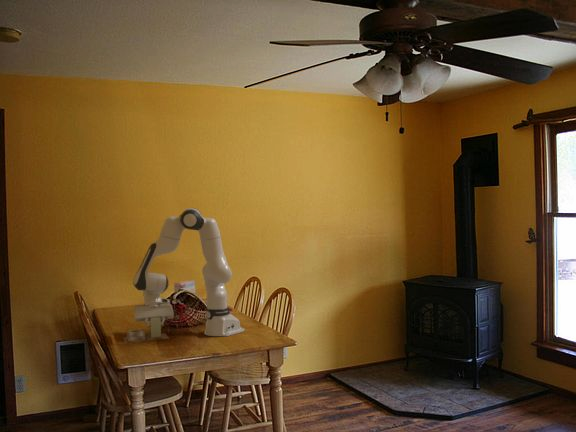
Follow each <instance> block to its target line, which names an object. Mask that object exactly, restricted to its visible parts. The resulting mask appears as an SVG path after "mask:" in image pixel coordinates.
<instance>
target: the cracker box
mask: <svg viewBox="0 0 576 432" xmlns="http://www.w3.org/2000/svg"><path fill="white" fill-rule="evenodd" d="M173 285H174V287H173V290H174V292H173V293H175V292H177V291H178V290H179V289H184V290H188V291H190V292H192V293H194V294H195V295H196V281H195V280H193V279H187V280H183V281H178V282H174V283H173Z"/></svg>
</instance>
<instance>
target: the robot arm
mask: <svg viewBox="0 0 576 432" xmlns="http://www.w3.org/2000/svg"><path fill="white" fill-rule="evenodd" d="M185 229H187V230H190V231H191V230H192V231H198V234H199V239H200V245H201V246H200V247H201V250H202V255H203V257H204V259H205V262H206V263H205V264H203V266H202V270H201V271H202V275H203V279H204V280H203V281H204V286H205V292H206V308H205V311H206V312H205V314H206V315H205V316H206V324H205V329H204V333H203V334H204V335H206V336H208V337H229V336H233V335H236V334H240V333H243V332H245V328H243V327H241V323H240V320H239V319H238V318H237V317H236V316H234V315H233V314H231V312H234V309H235V308H234V307H228V292H227V290H226V286H225V284H227V283H228V282H230V280H232V277H233V273H232V272H233V271H232V269H231V268H230V265H229V263H228V260H227V257H226V254H225V252H224V248H223V242H222V237H221V232H220V228H219V224H218V223H217V220H216V219H215V218H212V217H204V216H203V215H202V212H201V211H200V210H199V209H197V208H196V207H195V208H194V207H189V208H186V209H184V211H183V212H182V213H181V214H180V215H179V216H174V215H173V216H172V215H171V216H168V217H167V218H166V219H165V220H164V223H163V225H162V227H161V230H160V233H159V236H158V238H157V239H156V241H155V242H153V243H151V244H150V246H149V247H148V249H147V251H146V253H145V256H144V257H143V259H142V261H141V264H140V266H139V268H138V270H137V271H136V273H135V275H134V277H133V279H132V280H133V281H132V285H133V286H134V287H135V289H137V291H142V296H143V304H140V305H135V306H133V308H132V309H133V310H132V311H133V313H134V321H135V323H137V322H139V323H140V322H144V324H146V325H147V328H151V323H150V322H149V321H150V318H157V317H160V318H161V327H164V322H165V320H170V319H171V320H172V319H173V318H174V316H175V311H174V308H173V305H172V304H171V303H170V302H171V301H170V299H167V298H163V297H161V295H162V294H164V293H165V292H166V291H167V289H168V287H169V279H168V277H167V275H166V274H163V273H154V272H149V270H150V269H151V266H152V263H153V262H154V260H155V259H156V258H157V257H159V256H162V255H166V254H170V253H173V252H175V251H176V250H177V249H178V247H179V244H180V242H181V239H182V234H183V232H184V230H185Z"/></svg>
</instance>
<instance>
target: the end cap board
mask: <svg viewBox="0 0 576 432" xmlns="http://www.w3.org/2000/svg"><path fill="white" fill-rule="evenodd" d="M122 339H123V342H124V343H125V344H131V343H140V342H141V343H142V342H149V341H158V340H160V341H161V340H167V339H170V337H169V336H168V335H167V334H166V333H161V337H155V338H151V334H146V330H145V329H143V328H142V329H132V330H127V331H126V337H122Z"/></svg>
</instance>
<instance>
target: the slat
mask: <svg viewBox="0 0 576 432" xmlns="http://www.w3.org/2000/svg"><path fill="white" fill-rule="evenodd" d="M161 322H162V320H161V318H160V317H157V318H150V322H149V323H151V327H150V335H151V338H155V337H161V334H162V326H161Z"/></svg>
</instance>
